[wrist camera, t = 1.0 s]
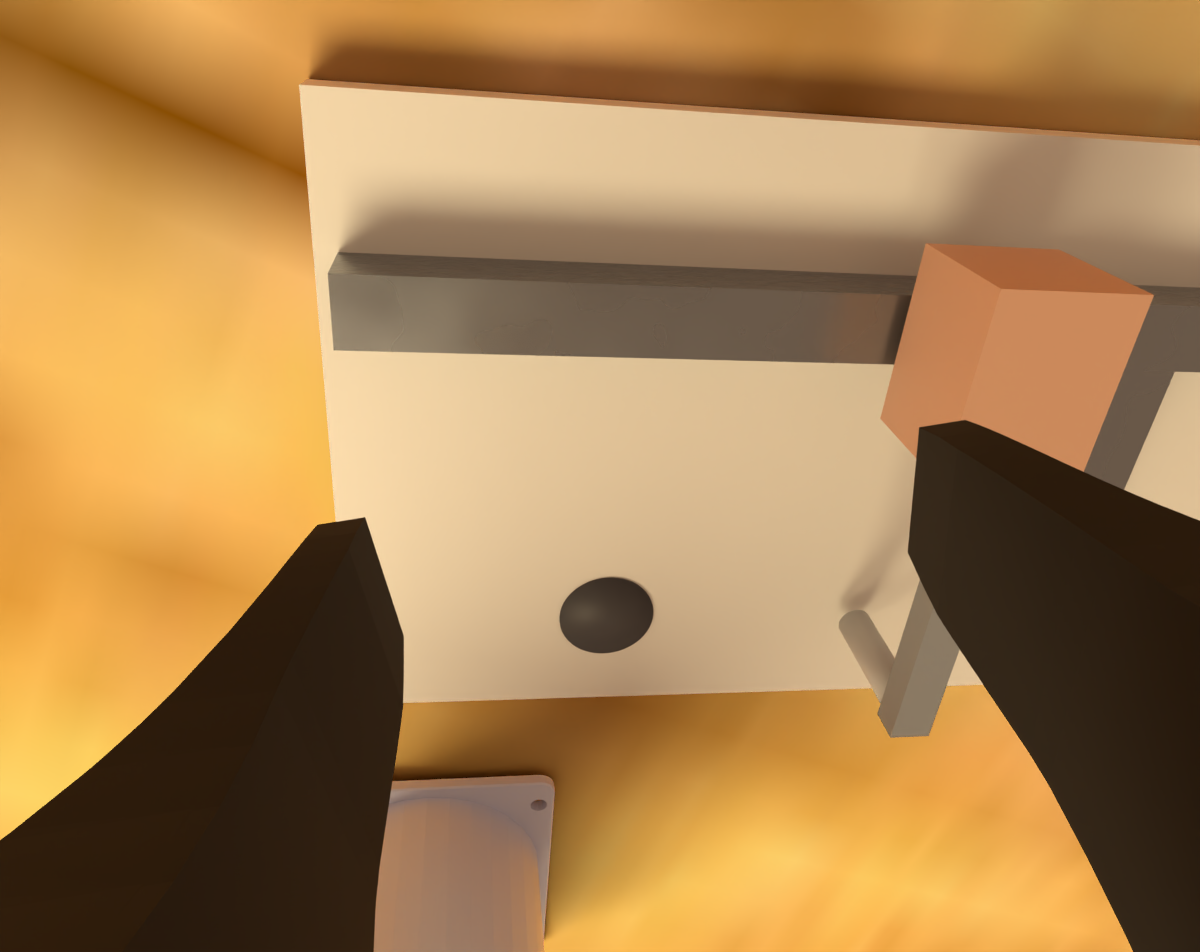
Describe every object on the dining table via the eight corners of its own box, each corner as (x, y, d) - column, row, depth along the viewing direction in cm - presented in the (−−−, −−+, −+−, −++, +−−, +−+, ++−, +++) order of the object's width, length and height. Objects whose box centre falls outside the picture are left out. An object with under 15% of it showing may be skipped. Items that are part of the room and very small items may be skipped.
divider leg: (900, 633, 25) (973, 747, 22) (800, 636, 25) (857, 753, 21) (1025, 233, 20) (1154, 294, 16) (899, 227, 19) (1001, 289, 15)
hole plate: (1104, 659, 29) (1124, 681, 28) (355, 679, 25) (350, 706, 25) (1342, 150, 21) (1381, 158, 20) (307, 79, 18) (298, 84, 17)
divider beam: (1118, 598, 28) (1172, 651, 26) (368, 611, 24) (358, 673, 22) (1264, 279, 23) (1347, 311, 20) (344, 239, 19) (327, 273, 17)
